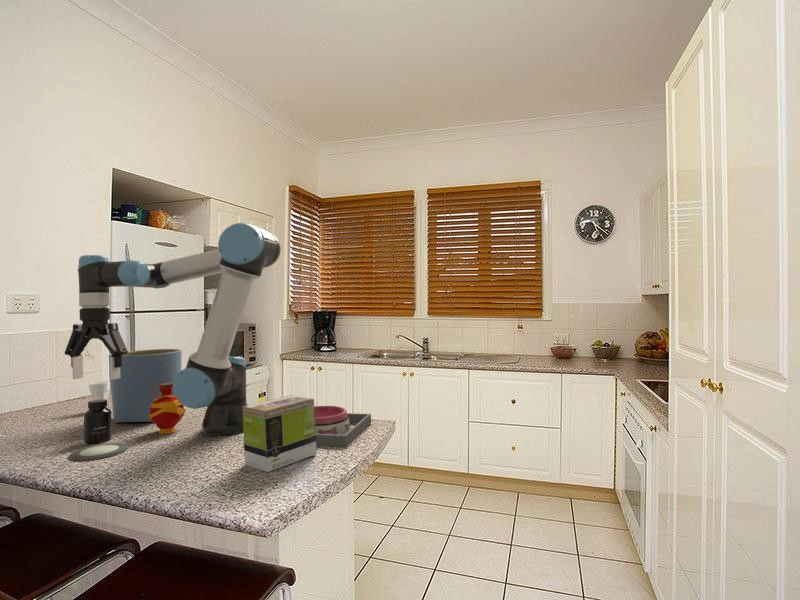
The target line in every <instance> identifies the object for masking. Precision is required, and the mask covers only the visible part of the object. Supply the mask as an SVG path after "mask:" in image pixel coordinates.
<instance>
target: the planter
mask: <svg viewBox="0 0 800 600" xmlns="http://www.w3.org/2000/svg"><path fill="white" fill-rule="evenodd" d="M182 351H183V350H182V349H178V348H159V349H158V348H157V349H153V348H152V349H139V350H130V351H129V350H128V353H127V354H124V355H122V366H121V367H120V376H121V378H118V379H113V380H112V379H111V371H110V357H111V356H112V354H111V353H110V354H109V355H108V365H109V382H110V391H111V402H112V403H111V404H112V405H111V406H112V416H113V423H115V424H116V423H139V422H140V423H145V422H147V423H154V422H153V421H152V420H151V419H150V416H149V415H150V413H149V412H150V406H151V404H152V403H153V402H154V399H156V398H159V397H161V396H162V392H160V391H159V388H160V385H159V384H163V383H173V382H174V379H175V377H176V375H177V374H178V373H179V372H180V371H182ZM171 392H172V395H173V396H175V394H174V391H173V390H172V391H171ZM175 397H176V396H175Z"/></svg>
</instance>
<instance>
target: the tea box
mask: <svg viewBox="0 0 800 600" xmlns="http://www.w3.org/2000/svg"><path fill="white" fill-rule="evenodd" d="M314 406H315V400H314V398H310V397H303V396H302V397H301V396H295V395H292V394H291V395H285V396H281V397H278V398H274V399H269V400H265V401H260V402H256V403H252V404H251V403H250V404H247V406H243V452H244V454H243V456H244V464H245V465H246V466H249V467H251V468H254V469H256V470H260V471H263V472H265V473H270V472H272V471H275V470H278V469H280V468H283V467H285V466H288V465H290V464H294V463H296V462H299V461H301V460H305V459H307V458H311V457H312V456H316V455H317V453H318V452H317V446H316V431H315V412H314Z"/></svg>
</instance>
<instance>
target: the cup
mask: <svg viewBox="0 0 800 600" xmlns="http://www.w3.org/2000/svg"><path fill="white" fill-rule="evenodd" d="M88 385H89V386H88V388H89V389H88V390H89V392H90V395H91V401H92V400H100V399H106V400H107V404H108V406H107V408H108V409H109V391H111V383H110V380H109V381H108V380H105V381H104V380H103V381H94V382H90V383H88Z"/></svg>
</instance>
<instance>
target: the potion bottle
mask: <svg viewBox="0 0 800 600" xmlns="http://www.w3.org/2000/svg"><path fill="white" fill-rule="evenodd" d="M159 385H160V388H159V391H160V392H162V396H161V397H159V398H156V399H154V402H153V403H152V404H151V406H150V412H149V413H150V415H149V416H150V419H151V420H152V421H153V422H152V423H154V424H155V426H156V427H157V428H158V429H159V431H158V434H160V435H161V434H163V435H164V434H171V433H174V432H176V431H177V429H176V428H175V426H177V425H178V423H180V422H181V420H182V419H183V417H184V415H185V413H186V408H185V406H184V405H182V404H181V403H180V402H179V401H178V400H177V397H175V396H173V395H172V392H171V391H172V390H173V383H163V384H159Z"/></svg>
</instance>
